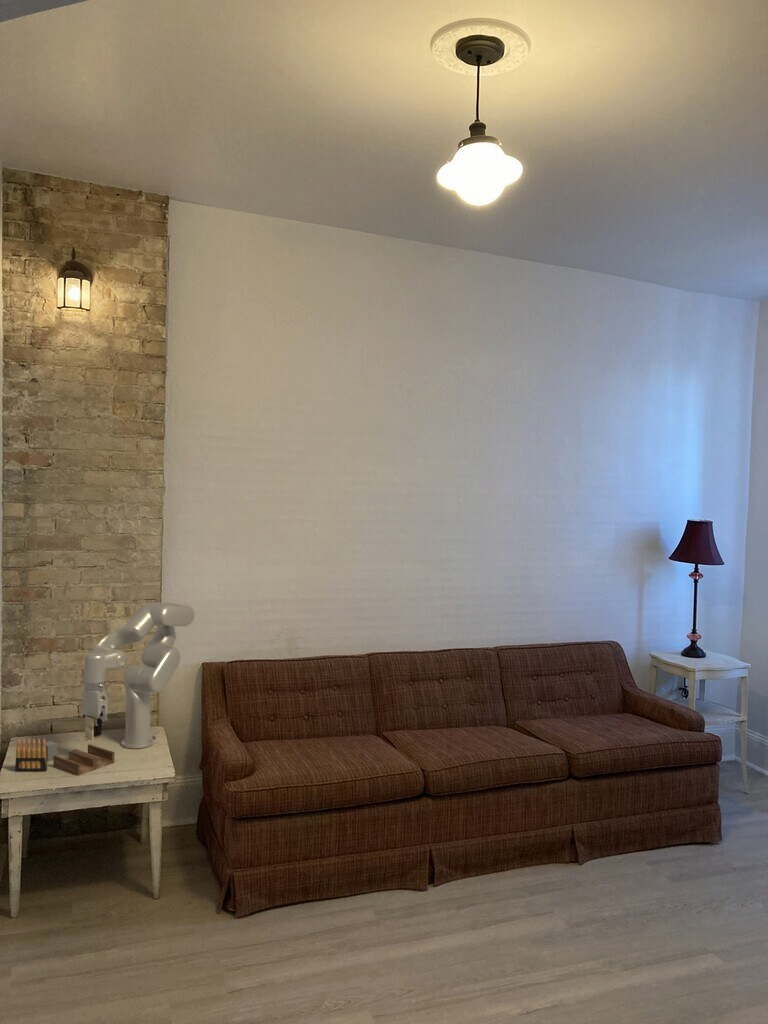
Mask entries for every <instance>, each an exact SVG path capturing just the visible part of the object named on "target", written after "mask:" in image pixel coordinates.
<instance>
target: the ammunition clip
mask: <svg viewBox="0 0 768 1024" xmlns="http://www.w3.org/2000/svg"><path fill="white" fill-rule="evenodd" d="M41 742H42V743H41ZM46 742H47V741H46V739H45V738H43V740H42V741H41V739H40V738H38V740H37V742H36V739H35V738H32V743H31V739H30V738H29V737H28V739H27V742H26V740H25V738H23V739H22V741H21V740H20V738H17V741H16V752H15V765H14V772H15V773H29V772H30V773H36V772H37V773H41V772H42V773H44V772H47V771H48V762H47V756H46ZM41 744H42V756H41Z"/></svg>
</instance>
